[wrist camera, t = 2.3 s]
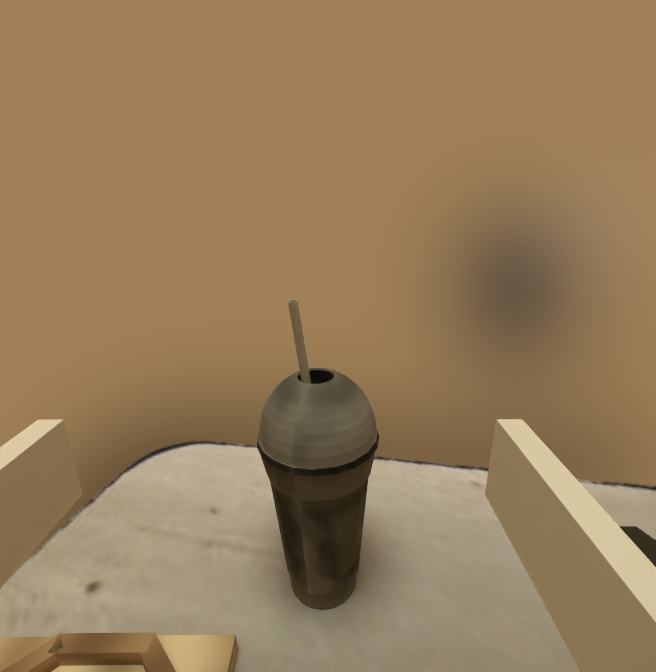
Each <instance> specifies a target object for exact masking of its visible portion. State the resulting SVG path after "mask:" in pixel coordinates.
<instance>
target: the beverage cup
mask: <svg viewBox="0 0 656 672" xmlns="http://www.w3.org/2000/svg"><path fill="white" fill-rule="evenodd" d="M288 305H289V310H290V316H291V322H292V328H293V333H294V339H295V345H296V351H297V357H298V362H299V368H300V371H299V372H296V373H294V374H292V375H291V376H289V377H287V378H286V379H284V380H283V381H282V382H281V383H280V384H279V385H278V386H277V387H276V388H275V389H274V391H273V392H272V393H271V395H270V396H269V397H268V399H267V401H266V403H265V405H264V408H263V411H262V414H261V421H260V429H259V435H258V443H257V448H258V450H259V452H260V454H261V457H262V461H263V464H264V466H265V469H266V472H267V475H268V477H269V479H270V482H271V487H272V492H273V497H274V503H275V508H276V513H277V518H278V523H279V528H280V533H281V538H282V543H283V549H284V554H285V559H286V564H287V569H288V572H289V574H290V578H291V581H292V587H293V590H294V593H295V595H296V596H297V597H298V598H299V600H300V601H301V602H302V603H304V604H306V605H307V606H309V607H311V608H316V609H321V610H322V609H330V608H334V607H336V606H338V605H340V604H342V603H344V602H345V601H346V600H347V599H348V598H349V597H350V595H351V594H352V592H353V590H354V588H355V582H356V573H357V571H358V565H359V557H360V548H361V539H362V529H363V520H364V511H365V502H366V493H367V484H368V476H369V475H370V472H371V468H372V464H373V460H374V454H375V451H376V449H377V446H378V439H379V435H378V431H377V429H376V421H375V417H374V413H373V411H372V408H371V406H370V403H369V401H368V399H367V397H366V395H365V394H364V392H363V391H362V390H361V388H360V387H358V385H357V384H356V383H354V382H353V381H352V380H351V379H349V378H348V377H347V376H345V375H343V374H341V373H339V372H336V371H334V370H330V369H324V368H311V369H309V368H308V363H307V357H306V350H305V345H304V338H303V332H302V326H301V321H300V315H299V308H298V302H297V300H290V301H288Z"/></svg>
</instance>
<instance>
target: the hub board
mask: <svg viewBox="0 0 656 672" xmlns="http://www.w3.org/2000/svg"><path fill="white" fill-rule="evenodd" d="M237 650H238V647H237V641H236V635H157V636H156V634H155V633H75V634H59V635H57V636H55V637H0V672H233V669H234V664H235V659H236V654H237Z"/></svg>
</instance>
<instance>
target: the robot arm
mask: <svg viewBox="0 0 656 672" xmlns="http://www.w3.org/2000/svg"><path fill="white" fill-rule="evenodd" d="M81 495H82V490H81V487H80V483H79V479H78V475H77V471H76V467H75V463H74V459H73V455H72V451H71V448H70V443H69V440H68V436H67V432H66V428H65V424H64V420H37V421H36V422H35V423H33V424H32V425H30V426H29V427H28V428H26V429H25V430H24V431H22V432H21V433H19V434H18V435H17V436H16V437H14V438H13V439H11V440H10V441H8V442H7V443H6V444H4V445H3V446H2V447H0V588H1V587H2V586H3V585H4V584H5V582H6V581H7V580H8V579H9V578H10V577H11V576H12V574H13V573H14V572H15V571H16V570H17V569H18V567H19V566H20V565H21V564H22V563H23V562H24V561H25V559H26V558H27V557H28V556H29V555H30V554H31V552H32V551H33V550H34V549H35V547H37V545H38V544H39V543H40V542H41V541H42V540H43V539H44V537H45V536H46V535H47V534H48V533H49V532H50V531H51V529H52V528H53V527H54V526H55V525H56V523H57V522H58V521H59V520H60V519H61V518H62V517H63V515H64V514H65V513H66V512H67V511H68V510H69V509H70V507H71V506H72V505H73V504H74V503H75V502H76V500H77V499H78V498H79V497H80V496H81ZM485 495H486V497H487V499H488V500H489V502H490V504H491V506H492V508H493V510H494V512H495V513H496V515H497V517H498V519H499V521H500V523H501V525H502V526H503V528H504V530H505V532H506V534H507V536H508V538H509V539H510V541H511V543H512V545H513V547H514V549H515V550H516V552H517V554H518V556H519V558H520V560H521V562H522V563H523V565H524V567H525V569H526V571H527V573H528V575H529V576H530V578H531V580H532V582H533V584H534V586H535V588H536V589H537V591H538V593H539V595H540V597H541V599H542V601H543V602H544V604H545V606H546V608H547V610H548V612H549V614H550V615H551V617H552V619H553V621H554V623H555V625H556V626H557V628H558V630H559V632H560V634H561V636H562V638H563V639H564V641H565V643H566V645H567V647H568V649H569V651H570V652H571V654H572V656H573V658H574V660H575V662H576V664H577V665H578V667H579V669H580V671H581V672H656V540H655V539H653V538H652V537H650V536H649V535H647V534H646V533H644V532H643V531H642V530H640V529H639V528H637V527H619V526H618V525H617V524H616V523H615V522H614V520H613V519H612V518H611V517H610V516H609V515H608V514H607V513H606V512H605V510H604V509H603V508H602V507H601V506H600V505H599V504H598V503H597V502H596V501H595V499H594V498H593V497H592V496H591V495H590V494H589V493H588V492H587V491H586V489H585V488H584V487H583V486H582V485H581V484H580V483H579V482H578V481H577V480H576V478H575V477H574V476H573V475H572V474H571V473H570V472H569V471H568V470H567V468H566V467H565V466H564V465H563V464H562V463H561V462H560V461H559V460H558V459H557V457H556V456H555V455H554V454H553V453H552V452H551V451H550V450H549V449H548V447H547V446H546V445H545V444H544V443H543V442H542V441H541V440H540V439H539V438H538V437H537V435H536V434H535V433H534V432H533V431H532V430H531V429H530V428H529V427H528V425H527V424H526V423H525V422H524V421H523V420H522V419H497V420H496V426H495V433H494V439H493V446H492V452H491V459H490V465H489V472H488V478H487V485H486V491H485Z"/></svg>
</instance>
